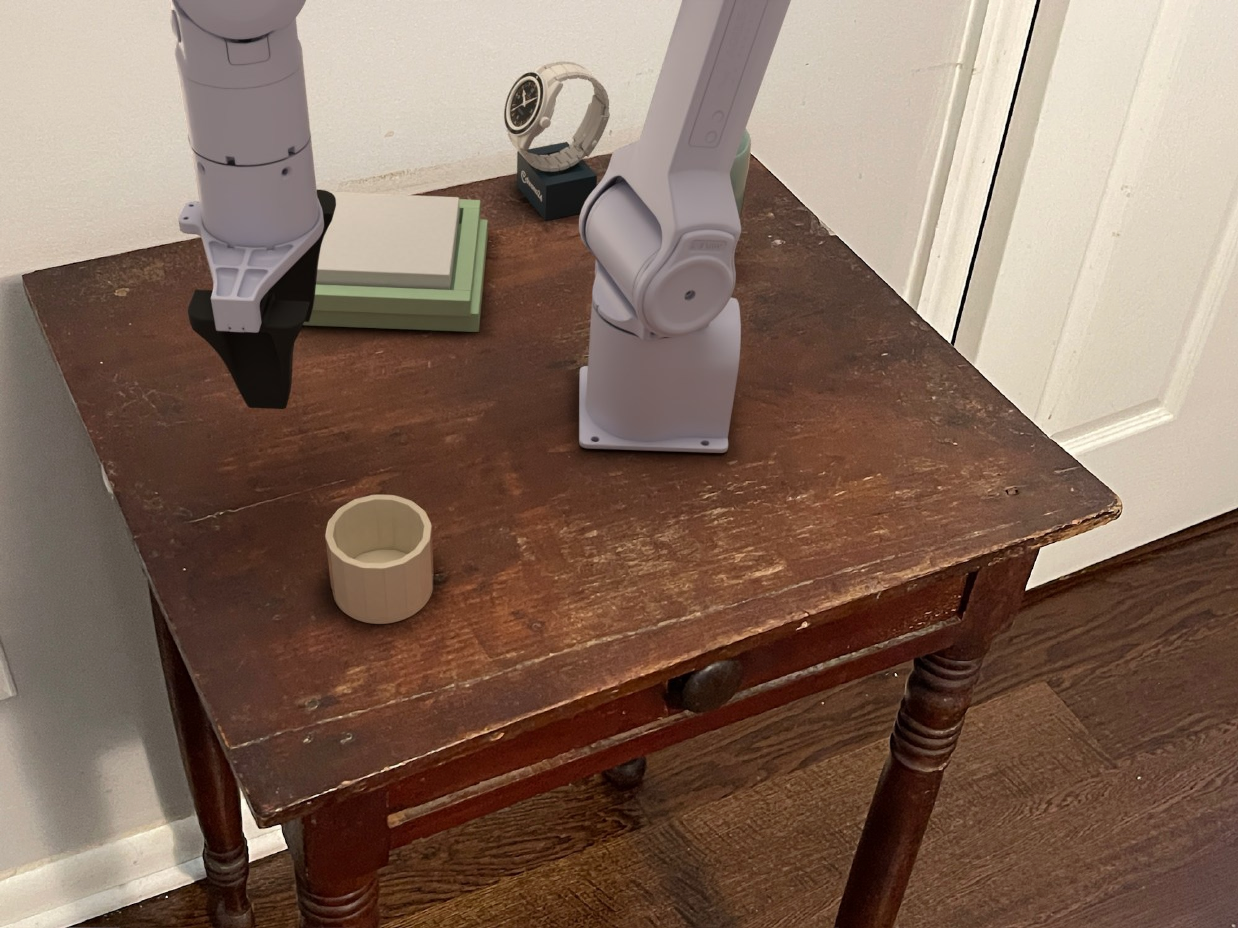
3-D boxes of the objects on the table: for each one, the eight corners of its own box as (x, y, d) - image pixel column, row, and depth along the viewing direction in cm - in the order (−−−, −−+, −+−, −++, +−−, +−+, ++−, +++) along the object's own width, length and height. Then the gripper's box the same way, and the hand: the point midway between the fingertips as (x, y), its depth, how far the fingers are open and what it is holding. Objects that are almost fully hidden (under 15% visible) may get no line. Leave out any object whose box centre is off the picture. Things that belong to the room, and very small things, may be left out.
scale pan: (460, 215, 100) (459, 197, 99) (450, 293, 93) (449, 274, 92) (323, 209, 100) (322, 190, 99) (303, 287, 92) (300, 268, 91)
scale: (488, 234, 103) (487, 200, 101) (478, 336, 94) (478, 301, 92) (302, 226, 103) (298, 191, 100) (273, 328, 93) (269, 292, 91)
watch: (494, 190, 108) (494, 61, 101) (585, 172, 111) (591, 45, 104) (522, 226, 104) (524, 95, 97) (615, 206, 107) (624, 77, 100)
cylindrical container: (437, 552, 78) (434, 496, 75) (428, 625, 74) (426, 569, 71) (339, 549, 78) (333, 492, 75) (326, 622, 74) (318, 566, 71)
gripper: (199, 63, 70) (233, 280, 79) (126, 213, 60) (175, 444, 69) (336, 70, 71) (354, 285, 80) (288, 221, 60) (315, 449, 69)
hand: (280, 359), depth 74 cm, fingers open, 7 cm apart
